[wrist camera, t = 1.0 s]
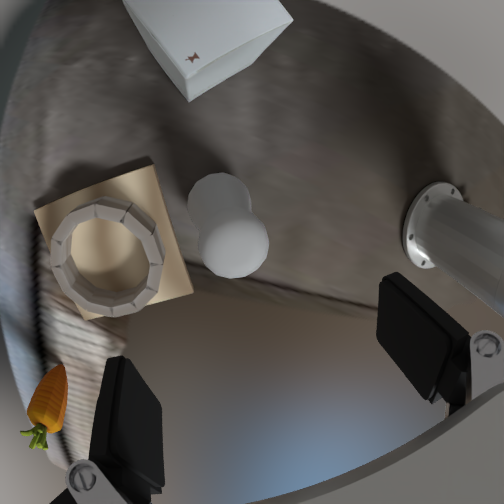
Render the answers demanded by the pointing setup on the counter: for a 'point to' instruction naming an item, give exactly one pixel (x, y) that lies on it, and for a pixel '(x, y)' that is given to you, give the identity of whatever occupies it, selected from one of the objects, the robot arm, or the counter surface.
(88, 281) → the ring holder
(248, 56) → the supplement box
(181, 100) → the counter surface
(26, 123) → the counter surface
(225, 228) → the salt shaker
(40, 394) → the carrot
